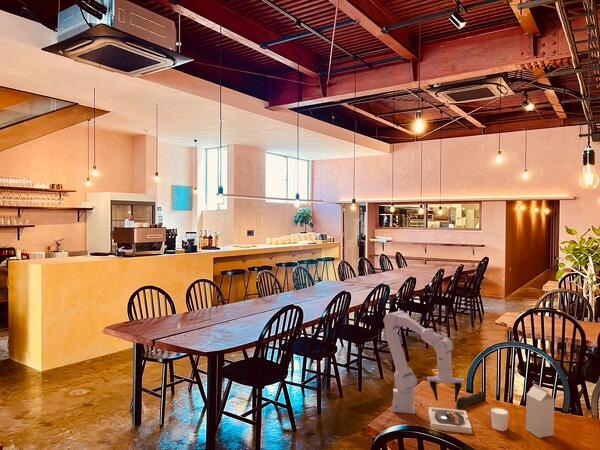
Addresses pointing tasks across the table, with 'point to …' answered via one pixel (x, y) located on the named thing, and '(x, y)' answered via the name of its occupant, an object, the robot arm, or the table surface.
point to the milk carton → (540, 412)
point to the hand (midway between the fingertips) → (446, 400)
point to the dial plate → (447, 427)
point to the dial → (449, 417)
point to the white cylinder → (499, 418)
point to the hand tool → (470, 400)
